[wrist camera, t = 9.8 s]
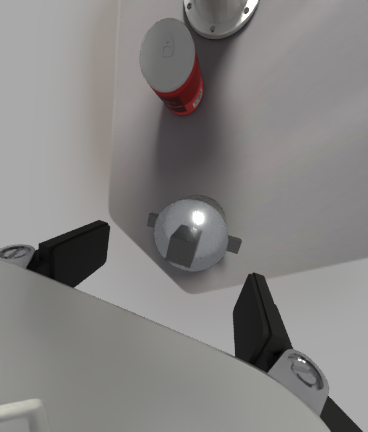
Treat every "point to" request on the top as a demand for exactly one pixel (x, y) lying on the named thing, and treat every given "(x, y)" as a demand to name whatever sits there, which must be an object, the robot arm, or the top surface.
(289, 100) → the top surface
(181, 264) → the lid
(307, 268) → the top surface
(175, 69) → the canned food
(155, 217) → the pot
